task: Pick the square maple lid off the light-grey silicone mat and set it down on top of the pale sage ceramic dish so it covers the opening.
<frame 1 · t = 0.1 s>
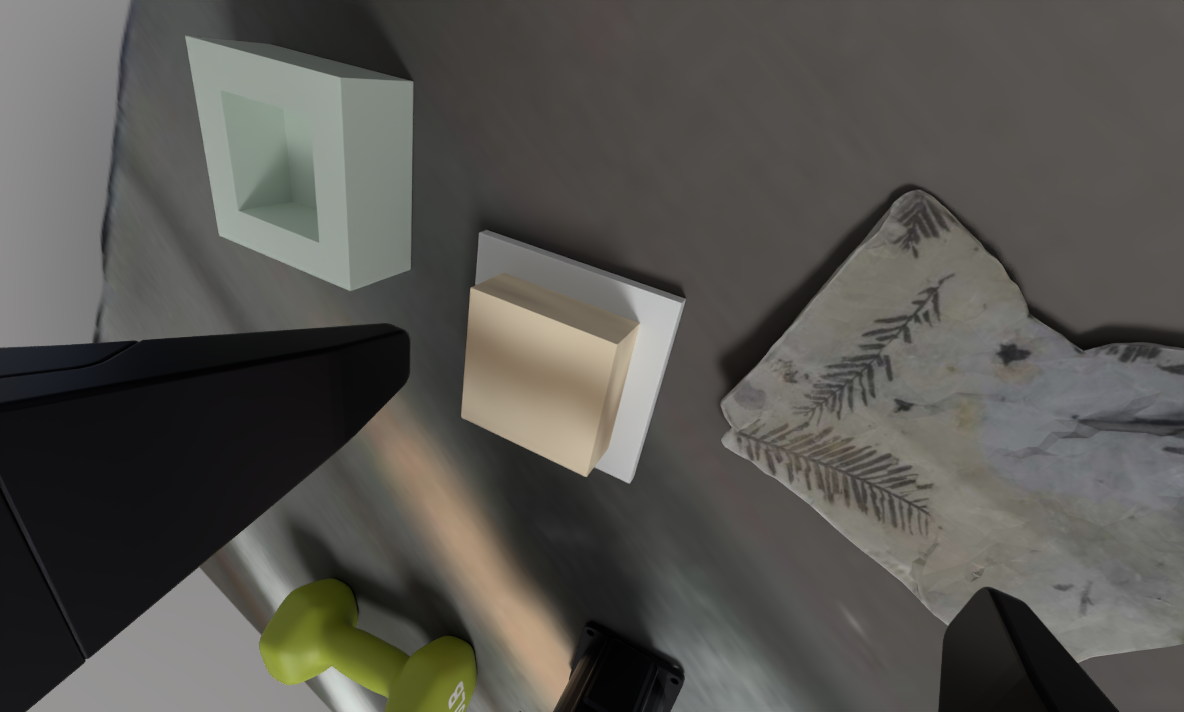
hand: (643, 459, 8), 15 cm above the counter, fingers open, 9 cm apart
fossil rock: (1018, 433, 20), on the counter
mat: (563, 358, 26), on the counter
lid: (557, 362, 26), point 1 cm above the counter, touching mat
dish: (342, 160, 27), on the counter
dumbbell: (404, 621, 44), on the counter
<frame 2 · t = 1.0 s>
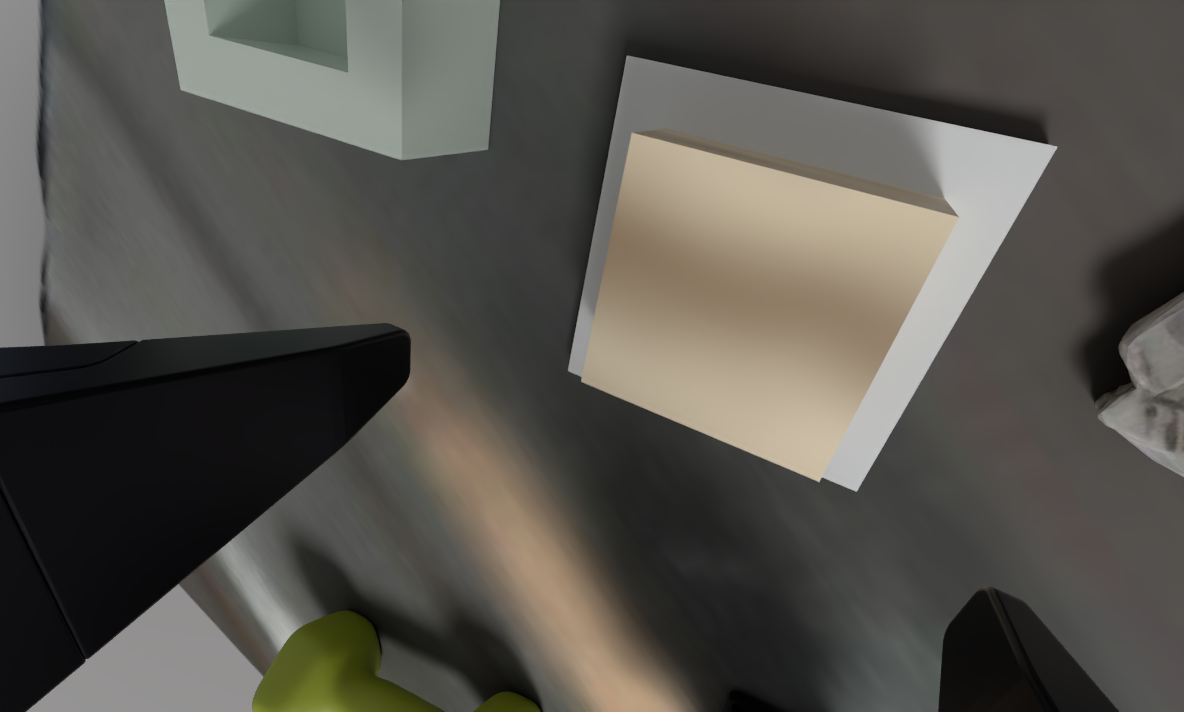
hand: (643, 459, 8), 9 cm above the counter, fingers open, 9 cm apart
mat: (753, 282, 16), on the counter
lid: (749, 287, 15), point 1 cm above the counter, touching mat
dumbbell: (443, 667, 34), on the counter
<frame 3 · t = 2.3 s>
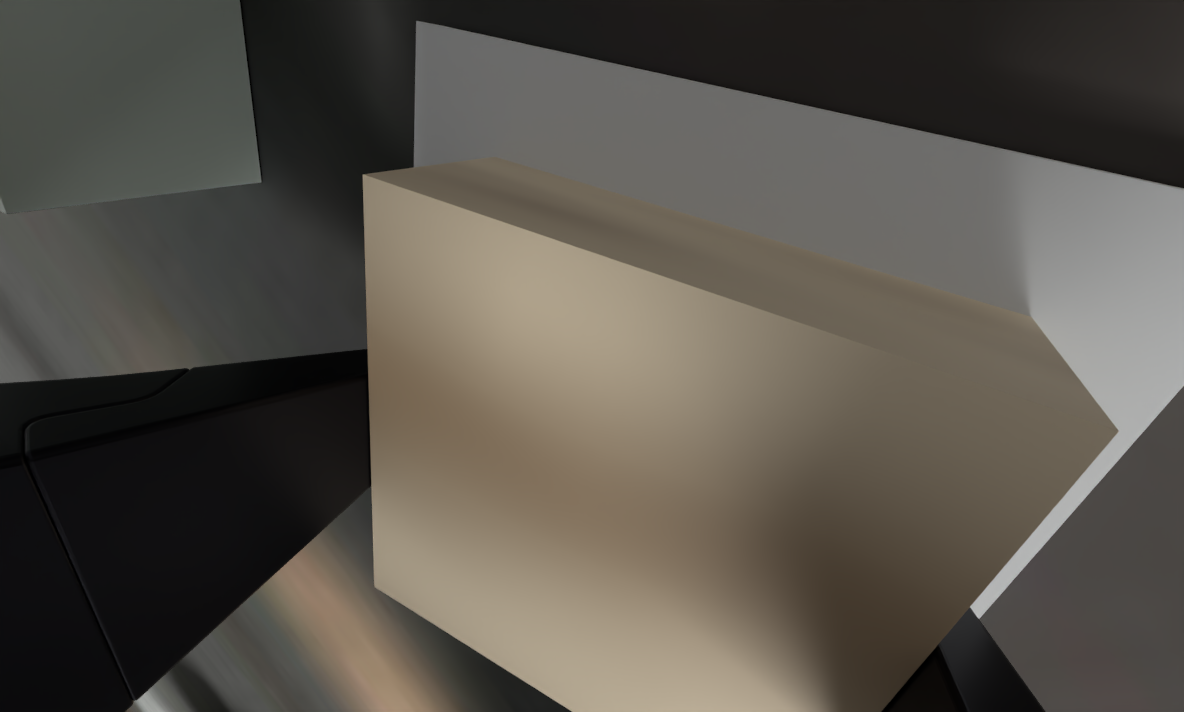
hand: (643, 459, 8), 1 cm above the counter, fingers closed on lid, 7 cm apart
mat: (668, 419, 9), on the counter
lid: (656, 437, 9), point 1 cm above the counter, touching gripper, mat
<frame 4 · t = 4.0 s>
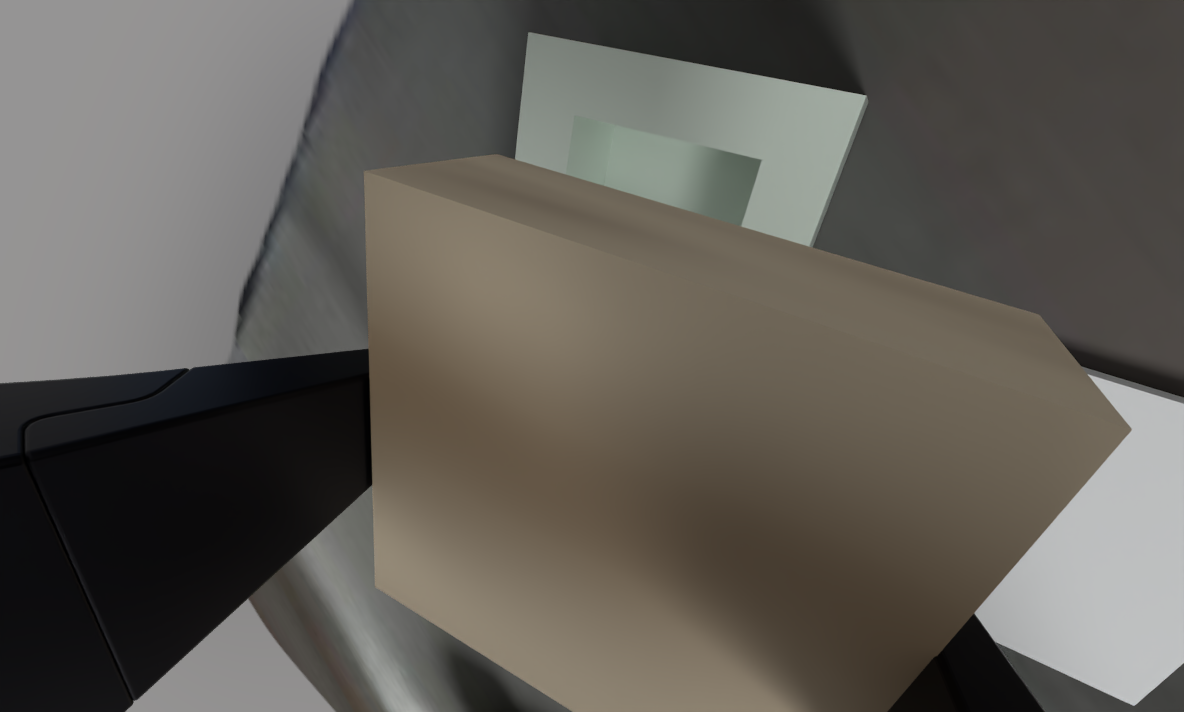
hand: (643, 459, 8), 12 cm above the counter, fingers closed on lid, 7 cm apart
mat: (1040, 515, 17), on the counter
lid: (659, 436, 9), point 12 cm above the counter, touching gripper
dish: (681, 215, 19), on the counter
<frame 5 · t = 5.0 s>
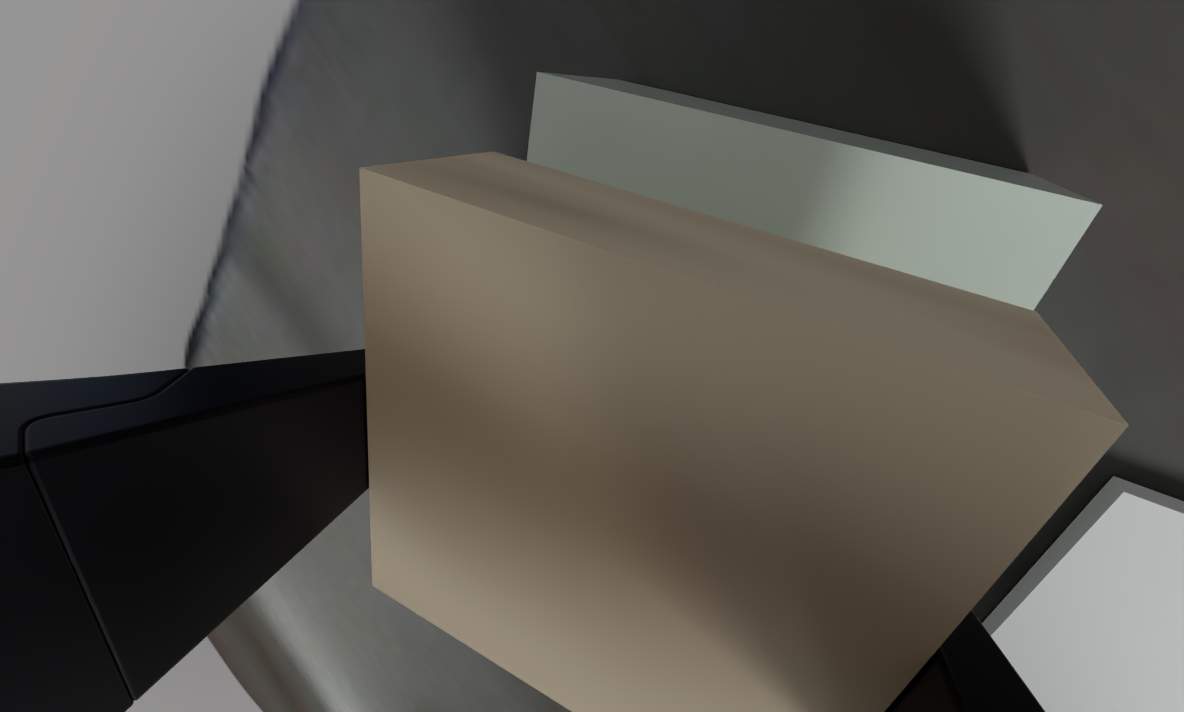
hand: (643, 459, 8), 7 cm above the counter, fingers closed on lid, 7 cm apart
lid: (657, 435, 8), point 7 cm above the counter, touching gripper
dish: (738, 303, 14), on the counter
when the fingers open (6 cm above the counter, at t = 5.9 s): lid stays where it is, resting on dish.
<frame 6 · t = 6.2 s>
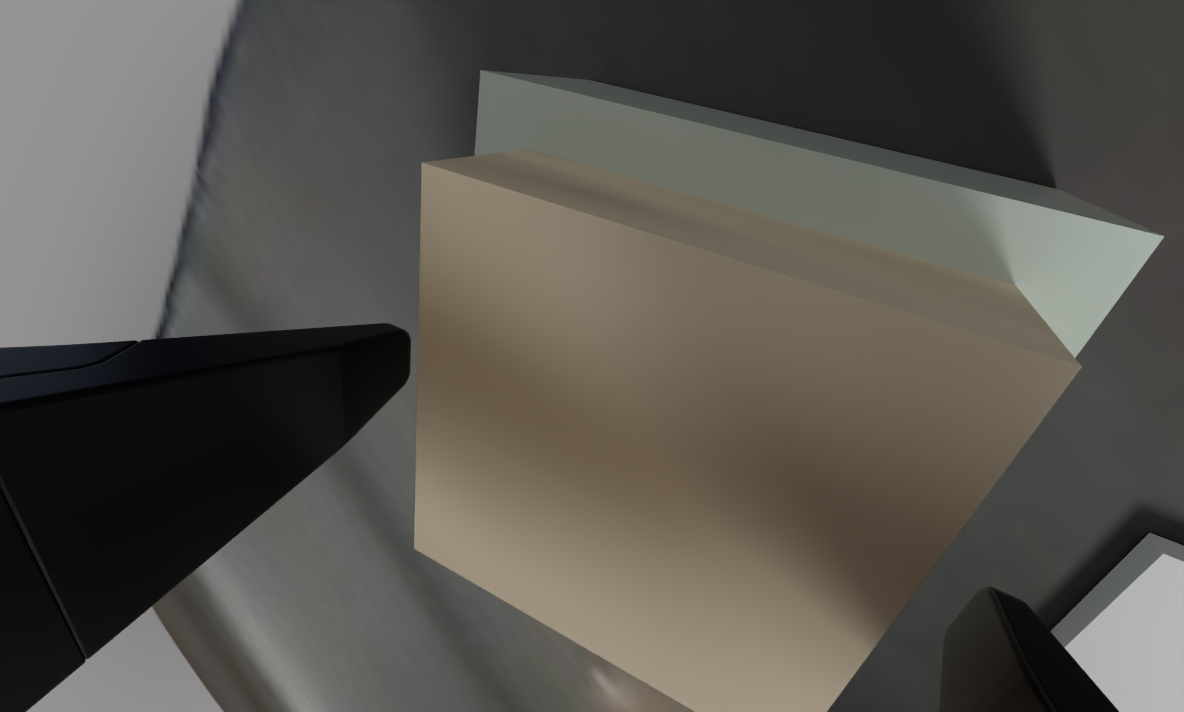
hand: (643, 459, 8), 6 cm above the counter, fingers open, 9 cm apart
lid: (676, 407, 9), point 4 cm above the counter, touching dish
dish: (724, 330, 13), on the counter
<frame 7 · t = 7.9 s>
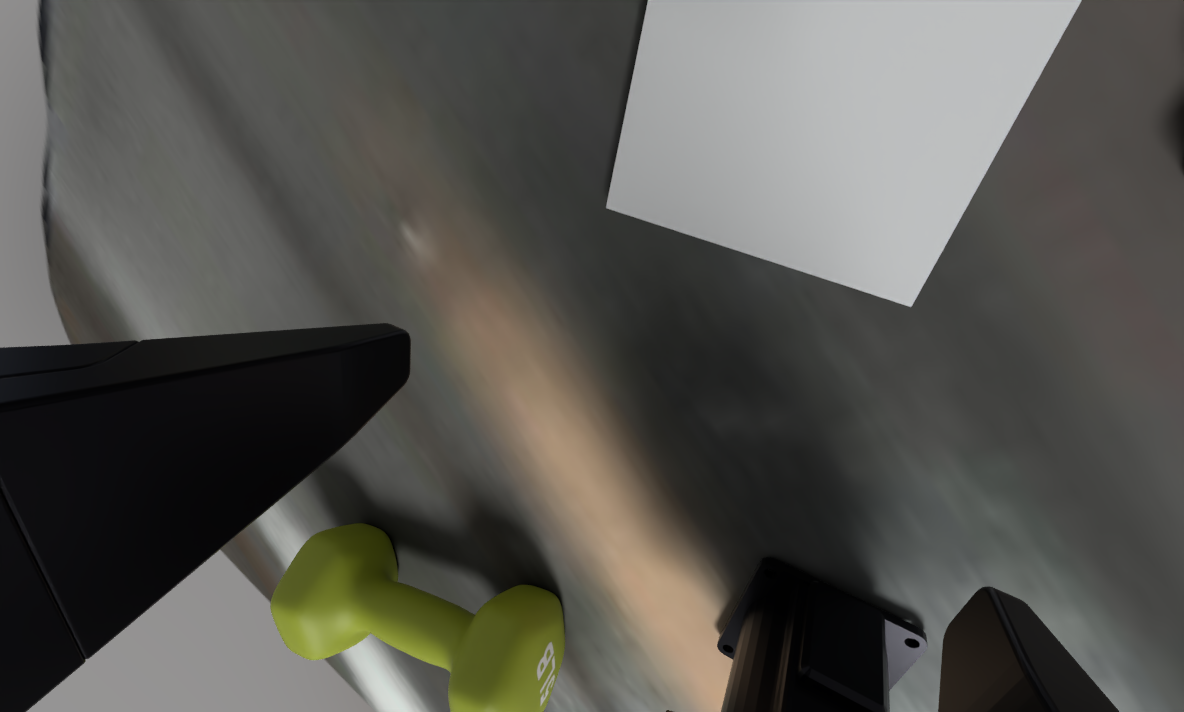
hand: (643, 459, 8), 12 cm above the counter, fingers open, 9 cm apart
mat: (809, 81, 15), on the counter
dumbbell: (460, 573, 34), on the counter
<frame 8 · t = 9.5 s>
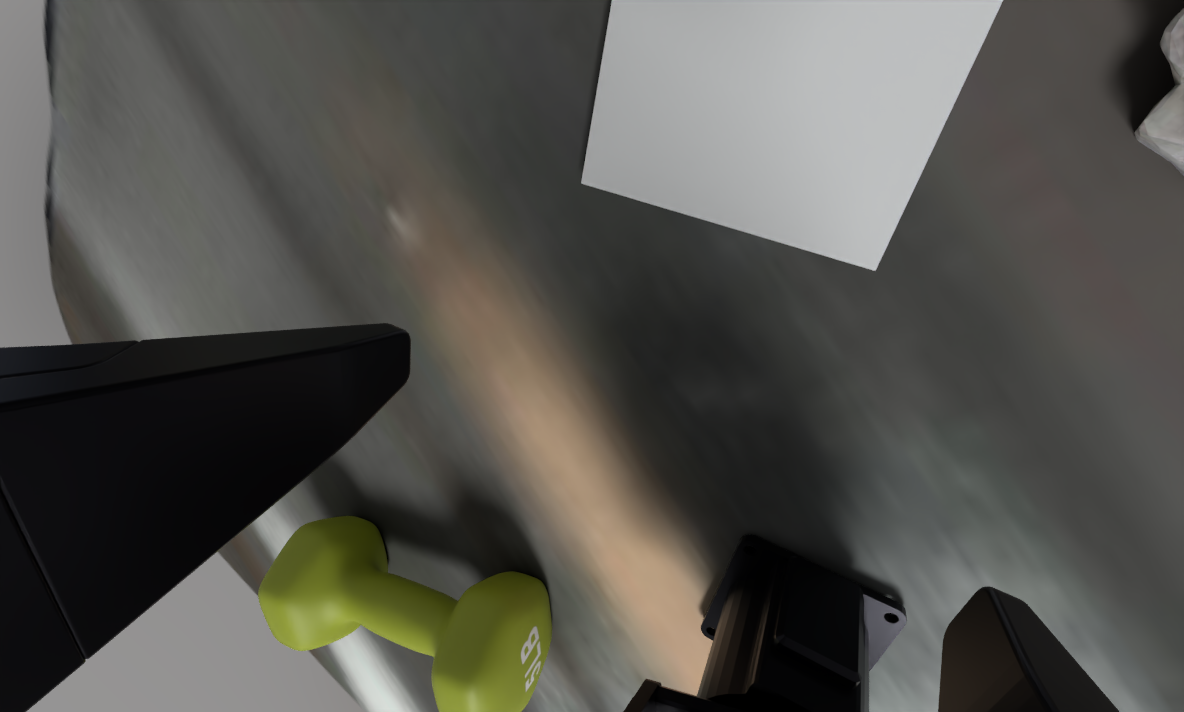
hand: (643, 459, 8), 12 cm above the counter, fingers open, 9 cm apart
mat: (771, 52, 16), on the counter
dumbbell: (449, 564, 34), on the counter
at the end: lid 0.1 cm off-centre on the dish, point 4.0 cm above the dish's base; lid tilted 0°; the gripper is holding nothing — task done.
